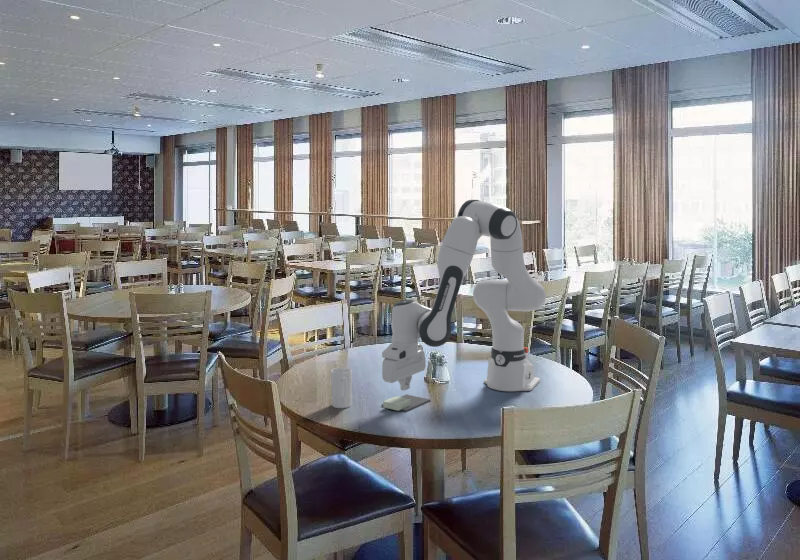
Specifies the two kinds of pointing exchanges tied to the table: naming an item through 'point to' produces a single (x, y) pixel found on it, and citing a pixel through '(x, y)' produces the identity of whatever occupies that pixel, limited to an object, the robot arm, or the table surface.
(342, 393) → the mug
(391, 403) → the block
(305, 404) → the table surface
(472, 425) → the table surface
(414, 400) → the mat
